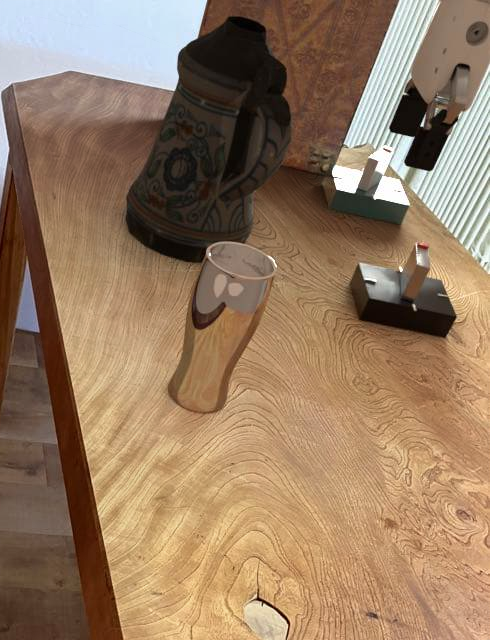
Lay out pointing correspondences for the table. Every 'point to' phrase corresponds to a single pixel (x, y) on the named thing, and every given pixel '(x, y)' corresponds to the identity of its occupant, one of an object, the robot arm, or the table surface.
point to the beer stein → (213, 144)
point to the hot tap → (415, 271)
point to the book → (316, 64)
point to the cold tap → (375, 168)
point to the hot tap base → (401, 301)
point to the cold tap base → (365, 196)
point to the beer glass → (220, 322)
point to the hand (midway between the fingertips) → (409, 150)
